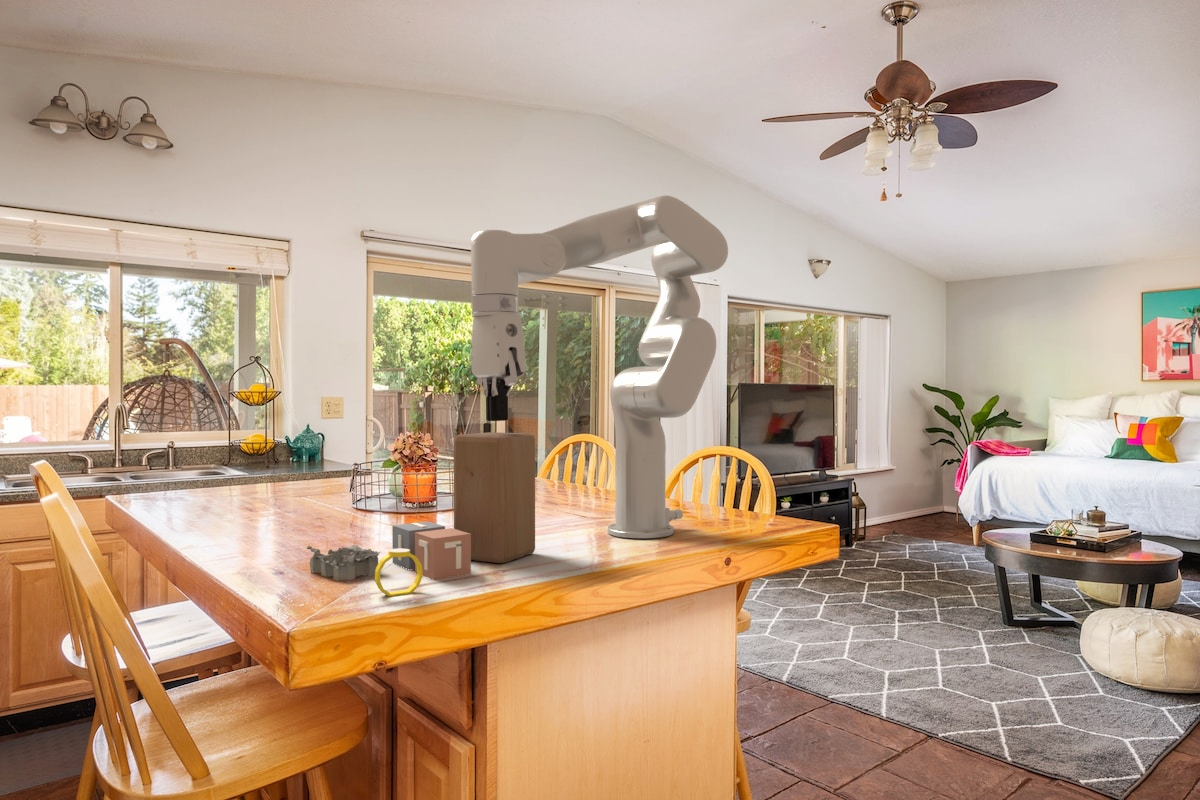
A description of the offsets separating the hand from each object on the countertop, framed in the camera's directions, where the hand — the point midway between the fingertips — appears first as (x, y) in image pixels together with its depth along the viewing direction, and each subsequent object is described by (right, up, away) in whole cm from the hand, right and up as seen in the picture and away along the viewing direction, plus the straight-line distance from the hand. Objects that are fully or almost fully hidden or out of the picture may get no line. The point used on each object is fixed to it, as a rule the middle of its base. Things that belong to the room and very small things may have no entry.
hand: (497, 420), depth 122 cm
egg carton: (-21, -23, -11) cm, 33 cm away
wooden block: (0, -22, 0) cm, 22 cm away
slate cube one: (-12, -22, -5) cm, 26 cm away
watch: (-10, -23, -23) cm, 34 cm away
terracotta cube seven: (-6, -22, -12) cm, 26 cm away
